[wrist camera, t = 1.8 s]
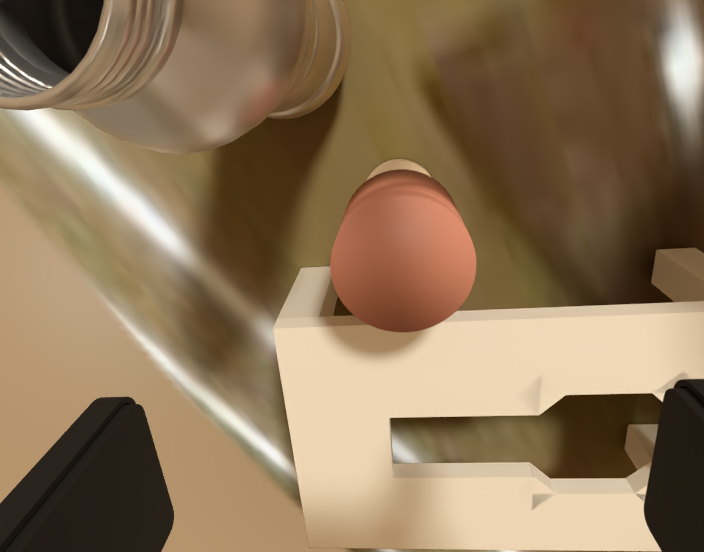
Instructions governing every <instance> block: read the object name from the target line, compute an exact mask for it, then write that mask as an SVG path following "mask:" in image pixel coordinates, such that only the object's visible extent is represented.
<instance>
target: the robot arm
mask: <svg viewBox="0 0 704 552" xmlns="http://www.w3.org/2000/svg"><path fill="white" fill-rule="evenodd" d="M644 516H645V521H646V524H647V526H648V528H649V530H650V532H651V534H652V536H653V537H654V539H655V541H656V542H657V544H658V546H659V548H660V549H661V551H662V552H704V379H681V380H679V381H677V382H676V383H675V385H674V388H670V389H667V390H666V392H665V394H664V398H663V403H662V408H661V414H660V419H659V425H658V430H657V436H656V441H655V447H654V452H653V457H652V463H651V468H650V474H649V479H648V485H647V490H646V496H645V501H644ZM173 521H174V511H173V507H172V503H171V500H170V497H169V493H168V490H167V486H166V483H165V479H164V476H163V473H162V469H161V466H160V462H159V459H158V456H157V452H156V449H155V445H154V442H153V439H152V435H151V432H150V429H149V425H148V422H147V418H146V415H145V411H144V409H143V407H142V406H141V405H139V404H136V403H135V401H134V400H133V399H132V398H130V397H105V398H98V399H96V400H95V401H93V402H92V403H91V404H90V406H89V407H88V408H87V409H86V410H85V411H84V412H83V413H82V414H81V415H80V417H79V418H78V419H77V420H76V421H75V422H74V423H73V424H72V425H71V426H70V428H69V429H68V430H67V431H66V432H65V433H64V434H63V435H62V436H61V437H60V439H59V440H58V441H57V442H56V443H55V444H54V445H53V446H52V447H51V448H50V450H49V451H48V452H47V453H46V454H45V455H44V456H43V457H42V458H41V460H39V462H38V463H37V464H36V465H35V466H34V467H33V468H32V469H31V471H30V472H29V473H28V474H27V475H26V476H25V477H24V478H23V479H22V480H21V481H20V482H19V484H18V485H17V486H16V487H15V488H14V489H13V490H12V491H11V492H10V493H9V495H8V496H7V497H6V498H5V499H4V500H3V501H2V502H1V503H0V552H161V551H162V549H163V547H164V545H165V542H166V540H167V538H168V536H169V534H170V532H171V529H172V526H173Z"/></svg>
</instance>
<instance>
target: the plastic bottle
mask: <svg viewBox="0 0 704 552" xmlns="http://www.w3.org/2000/svg"><path fill="white" fill-rule="evenodd" d="M350 50H351V30H350V21H349V17H348V14H347V10H346V7H345V4H344V2H343V0H0V108H3V109H15V110H34V109H42V108H50V107H51V108H54V109H61V110H74V111H75V112H76V113H78V114H79V115H80V116H82V117H83V118H84V119H86V120H87V121H88V122H90V123H91V124H92V125H94V126H95V127H96V128H98V129H100V130H102V131H104V132H106V133H108V134H110V135H112V136H114V137H116V138H118V139H120V140H123V141H126V142H129V143H132V144H135V145H138V146H141V147H145V148H148V149H152V150H155V151H159V152H166V153H179V154H189V153H196V152H203V151H210V150H212V149H215V148H218V147H220V146H223V145H226V144H228V143H231V142H233V141H234V140H236V139H237V138H239V137H241V136H242V135H244V134H245V133H247V132H248V131H250V130H251V129H253V128H254V127H256V126H257V125H259V124H260V123H261V122H262V121H263V120H264V119H265V118H266V117H268V118H272V119H291V118H297V117H300V116H303V115H306V114H308V113H311V112H312V111H314V110H315V109H317V108H318V107H320V106H321V105H323V104H324V103H325V102H326V101H327V100H328V99H329V98H330V97H331V96H332V94H333V93H334V92H335V90H336V89H337V87H338V86H339V84H340V83H341V80H342V78H343V76H344V74H345V71H346V69H347V65H348V61H349V57H350Z"/></svg>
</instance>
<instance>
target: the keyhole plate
mask: <svg viewBox="0 0 704 552" xmlns="http://www.w3.org/2000/svg"><path fill="white" fill-rule="evenodd" d="M651 283H652V284H653V285H654V286H656V287H657V288H658V289H659V290H661V291H662V292H663V293H664V294H665V295H667V296H668V297H669V298H670V299H672V300H673V301H674V302H671V303H647V304H622V305H597V306H573V307H548V308H523V309H499V310H474V311H456V312H455V313H454V314H452V315H451V316H450V317H449V318H447V319H446V320H444V321H443V322H441V323H439V324H437V325H435V326H433V327H430V328H427V329H424V330H420V331H415V332H391V331H385V330H381V329H378V328H375V327H373V326H370V325H368V324H367V323H365V322H363V321H361V320H360V319H358V318H357V317H356V316H354V315H351V316H333V314H334V310H335V306H336V302H337V298H338V295H337V293H336V291H335V288H334V285H333V282H332V277H331V271H330V266H329V267H309V268H301V270H300V272H299V274H298V276H297V278H296V280H295V282H294V284H293V287H292V289H291V291H290V293H289V295H288V297H287V299H286V301H285V303H284V306H283V308H282V310H281V312H280V314H279V316H278V318H277V320H276V322H275V325H274V327H273V334H274V340H275V346H276V352H277V358H278V364H279V370H280V376H281V382H282V388H283V394H284V400H285V406H286V412H287V418H288V424H289V430H290V436H291V442H292V448H293V454H294V460H295V466H296V472H297V478H298V484H299V490H300V496H301V502H302V508H303V514H304V520H305V526H306V532H307V538H308V544H309V548H382V549H482V550H581V551H661V549H660V548H659V546H658V544H657V542H656V541H655V539H654V537H653V536H652V534H651V532H650V530H649V528H648V526H647V524H646V521H645V516H644V501H645V496H646V490H647V485H648V479H649V474H650V468H651V463H652V457H653V452H654V447H655V441H656V436H657V430H658V425H659V424H636V425H628V429H627V436H626V442H625V448H624V449H625V451H626V452H627V454H628V456H629V457H630V459H631V461H632V462H633V464H634V465H635V467H636V469H637V471H636V472H634V473H633V474H631V475H630V476H628V477H627V478H579V479H550V478H549V477H548V476H546V475H545V474H544V473H542V472H541V471H540V470H539V469H537V468H536V467H535V466H534V465H532V464H531V463H530V462H524V463H404V464H393V453H392V438H391V424H390V418H406V417H461V416H516V415H540V414H542V413H543V412H544V411H545V410H547V409H548V408H549V407H551V406H552V405H553V404H555V403H556V402H557V401H559V400H560V399H561V398H563V397H564V396H565V395H590V394H635V393H653V394H654V395H655V396H656V397H657V398H658V399H659V400H661V401H662V402H663V398H664V394H665V392H666V390H667V389H670V388H674V385H675V383H676V382H677V381H679V380H681V379H704V253H703V252H702V251H700V250H698V249H696V248H679V249H659V250H656V255H655V261H654V267H653V274H652V280H651Z"/></svg>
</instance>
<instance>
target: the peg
mask: <svg viewBox="0 0 704 552" xmlns="http://www.w3.org/2000/svg"><path fill="white" fill-rule="evenodd" d="M330 271H331V277H332V282H333V285H334V288H335V291H336V293H337V295H338V297H339V298H340V300H341V301H342V303H343V304H344V305H345V307H346V308H347V309H348V310H349V311H350V312H351V313H352V314H353V315H354V316H356V317H357V318H358V319H360V320H361V321H363V322H365V323H367V324H368V325H370V326H373V327H375V328H378V329H381V330H385V331H391V332H415V331H420V330H424V329H427V328H430V327H433V326H435V325H437V324H439V323H441V322H443V321H444V320H446V319H447V318H449V317H450V316H451V315H452V314H454V313H455V312H456V311H457V310H458V309H459V308H460V306H461V305H462V304H463V303H464V301H465V300H466V298H467V296H468V295H469V293H470V291H471V288H472V286H473V283H474V279H475V275H476V254H475V249H474V246H473V243H472V240H471V238H470V236H469V233H468V231H467V229H466V227H465V225H464V223H463V221H462V218H461V216H460V214H459V212H458V210H457V208H456V206H455V204H454V202H453V200H452V198H451V196H450V194H449V193H448V192H447V190H446V189H445V188H444V187H443V186H442V185H441V184H440V183H439V182H438V181H436V180H435V179H433V178H432V177H431V175H430V174H429V173H428V171H427V170H426V169H425V168H424V167H423V166H421V165H420V164H418V163H417V162H414V161H412V160H409V159H402V158H397V159H391V160H388V161H385V162H383V163H381V164H380V165H378V166H377V167H376V168H374V169H373V170H372V172H371V173H370V174H369V176H368V177H367V179H366V182H365V183H363V184H362V185H361V186H360V187H359V188H358V189H357V190H356V192H355V193H354V194H353V196H352V197H351V199H350V201H349V203H348V206H347V208H346V211H345V214H344V217H343V220H342V222H341V225H340V228H339V231H338V234H337V237H336V240H335V242H334V245H333V249H332V253H331V261H330Z"/></svg>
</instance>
